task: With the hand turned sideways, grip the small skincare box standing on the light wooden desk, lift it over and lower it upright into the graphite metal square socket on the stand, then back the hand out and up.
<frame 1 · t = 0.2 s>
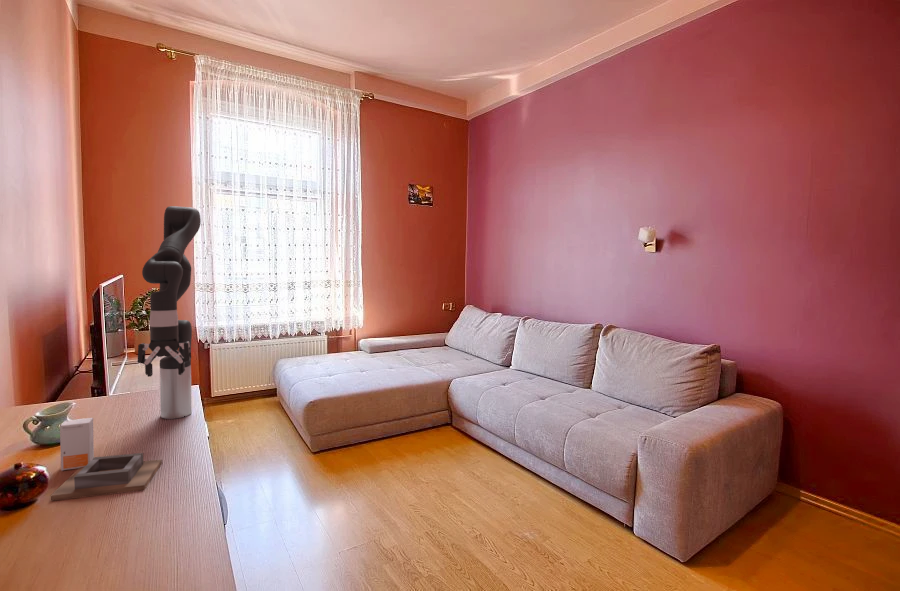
hand: (165, 375, 140), 17 cm above the table, tool pointing down, fingers open, 8 cm apart
skincare box: (78, 466, 115), on the table
socket stand: (111, 480, 108), on the table
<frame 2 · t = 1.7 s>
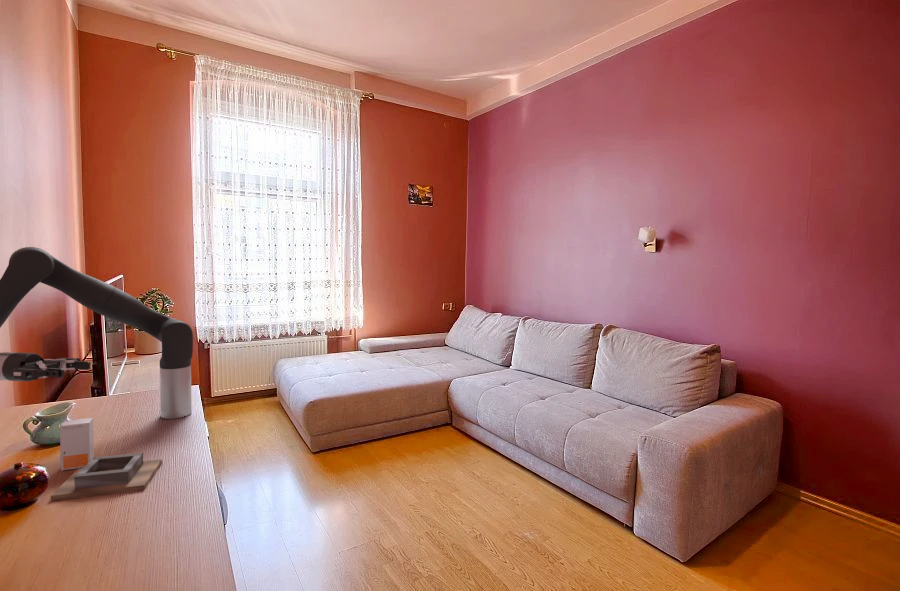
hand: (77, 369, 118), 25 cm above the table, tool horizontal, fingers open, 8 cm apart
nothing on the table moved.
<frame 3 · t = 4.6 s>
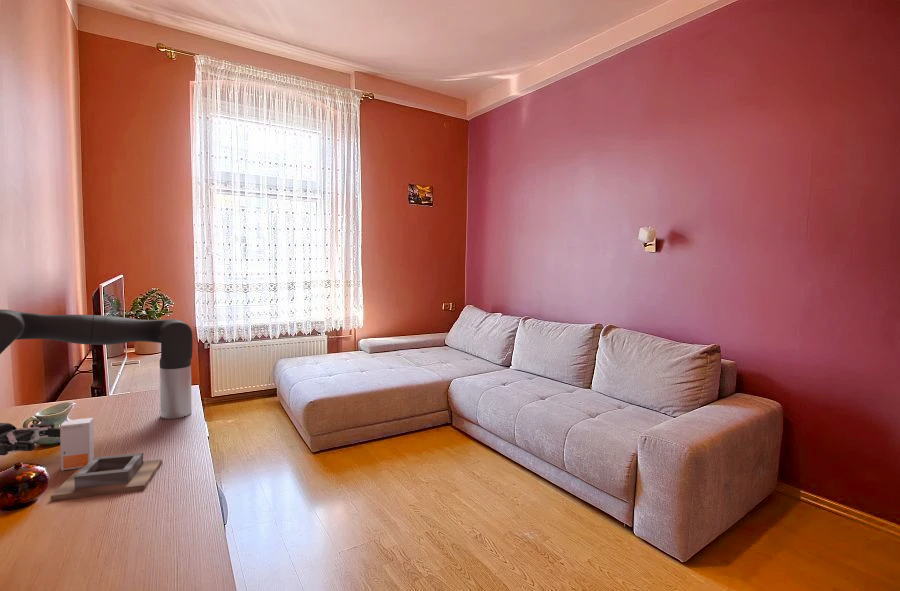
hand: (48, 439, 115), 7 cm above the table, tool horizontal, fingers open, 8 cm apart
nothing on the table moved.
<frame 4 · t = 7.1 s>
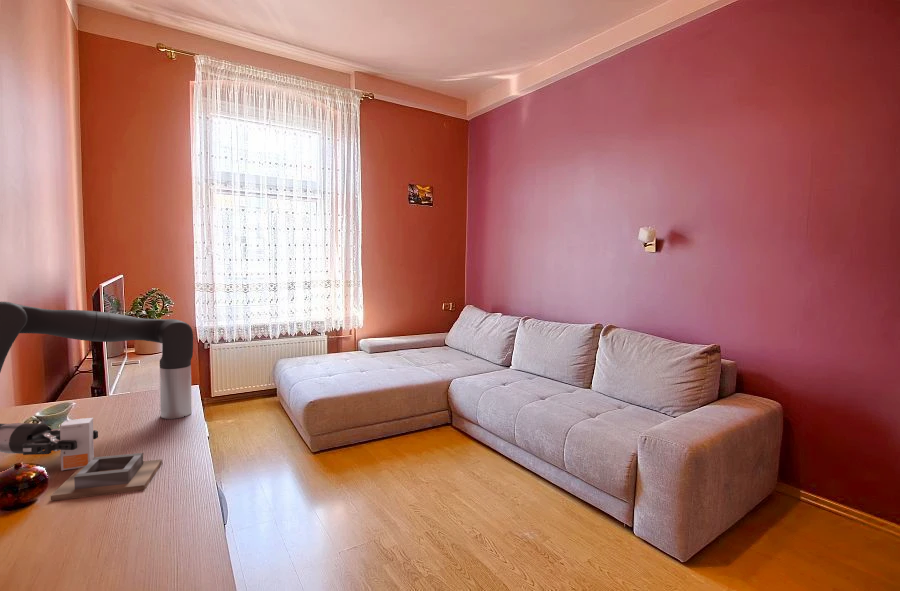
hand: (86, 439, 115), 7 cm above the table, tool horizontal, fingers closed on skincare box, 6 cm apart
skincare box: (78, 466, 115), on the table, touching gripper
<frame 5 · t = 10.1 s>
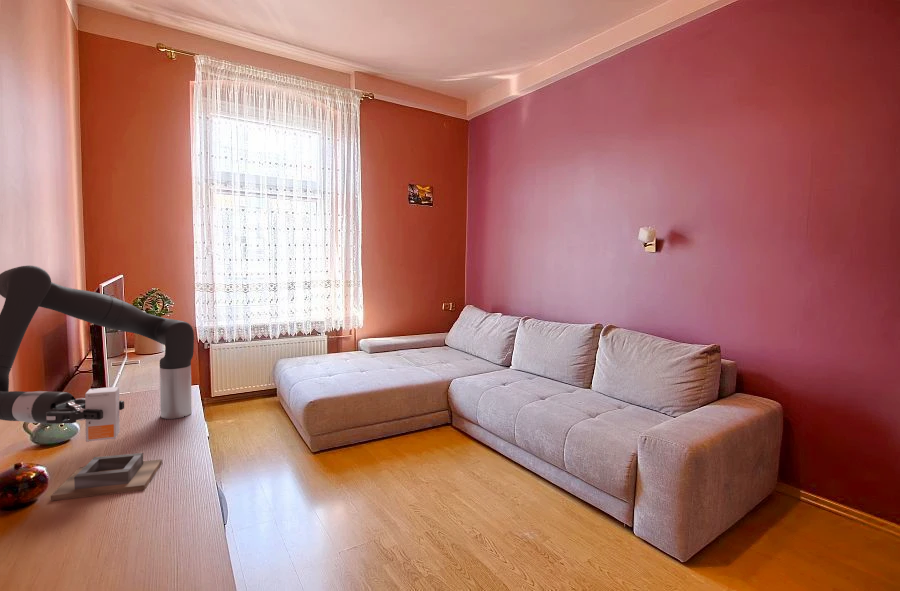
hand: (112, 409, 107), 18 cm above the table, tool horizontal, fingers closed on skincare box, 6 cm apart
skincare box: (103, 438, 108), point 10 cm above the table, touching gripper
when the fingers open (9 cm above the table, at t = 13.3 s): skincare box drops 1 cm, resting on socket stand.
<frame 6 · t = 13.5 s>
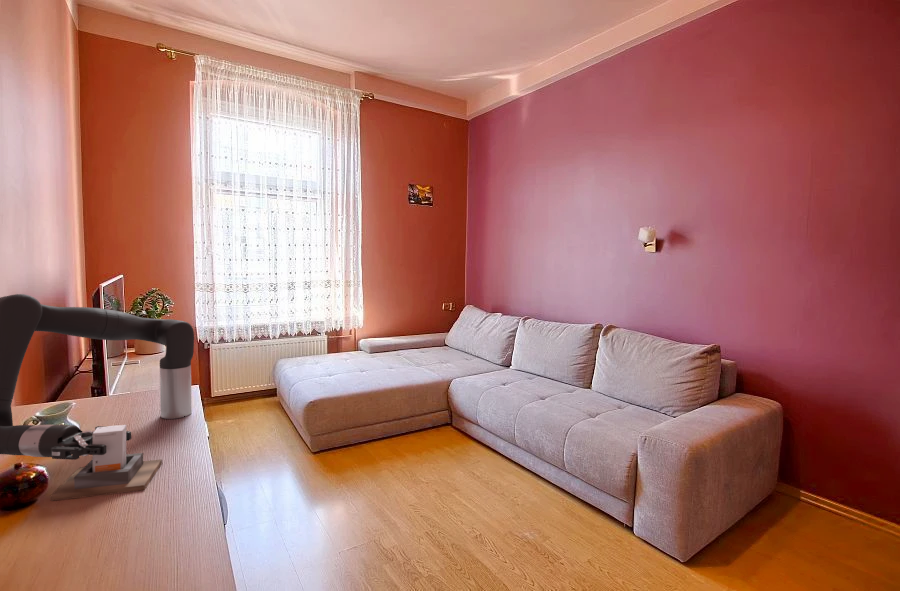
hand: (118, 442, 108), 10 cm above the table, tool horizontal, fingers open, 8 cm apart
skincare box: (110, 476, 108), point 1 cm above the table, touching socket stand
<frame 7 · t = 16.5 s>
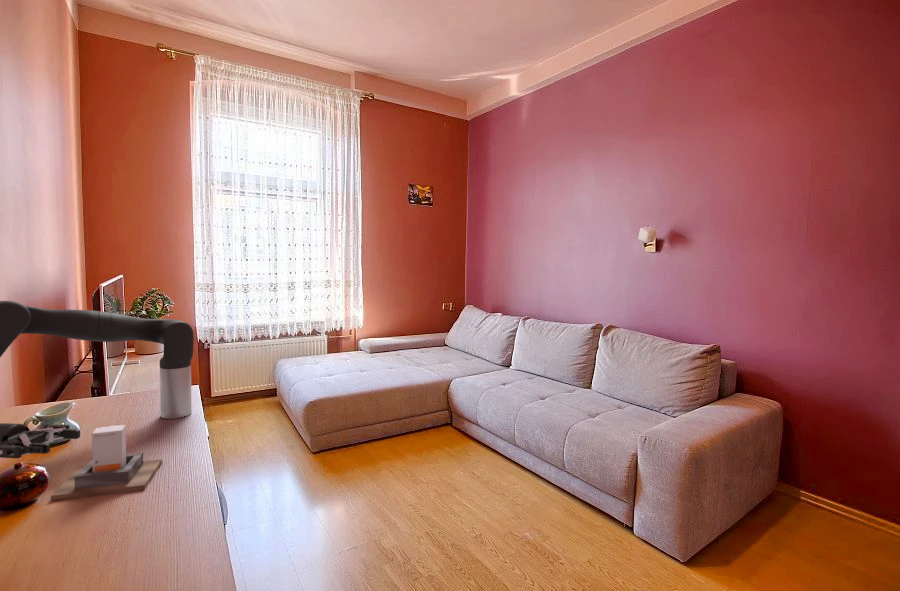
hand: (64, 441, 107), 10 cm above the table, tool horizontal, fingers open, 8 cm apart
nothing on the table moved.
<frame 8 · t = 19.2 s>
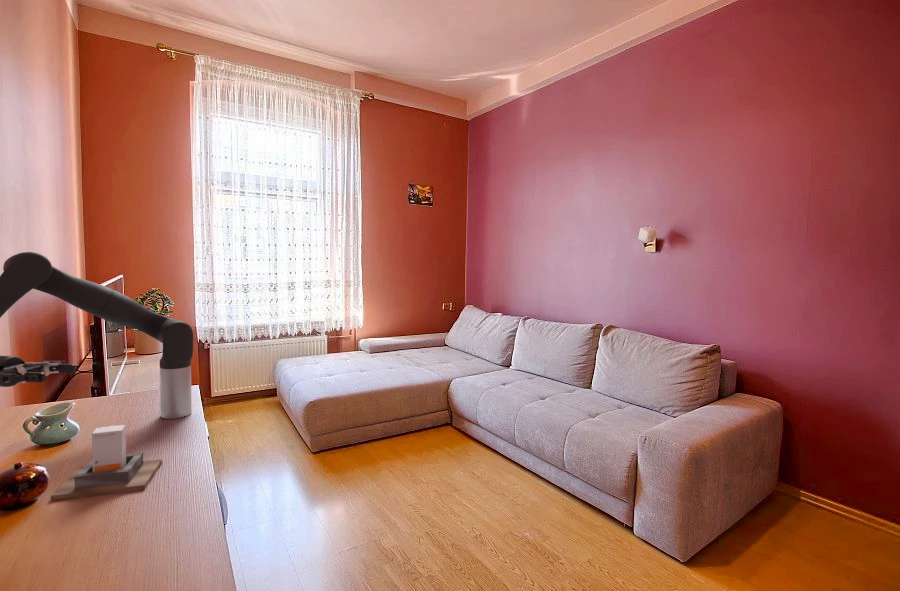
hand: (59, 372, 108), 26 cm above the table, tool horizontal, fingers open, 8 cm apart
nothing on the table moved.
at the end: skincare box 0.2 cm off-centre on the socket stand, point 1.0 cm above the socket stand's base; skincare box tilted 0°; the gripper is holding nothing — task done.
